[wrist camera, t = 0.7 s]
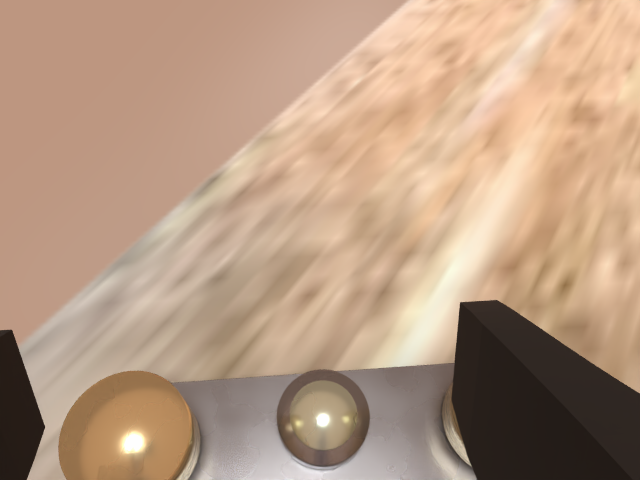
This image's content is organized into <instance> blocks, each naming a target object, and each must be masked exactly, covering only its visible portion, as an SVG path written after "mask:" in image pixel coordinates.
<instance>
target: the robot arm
mask: <svg viewBox="0 0 640 480" xmlns="http://www.w3.org/2000/svg"><path fill="white" fill-rule="evenodd" d="M451 400H452V404H453V408H454V411H455V415H456V419H457V422H458V426H459V430H460V433H461V436H462V440H463V443H464V446H465V450H466V453H467V456H468V459H469V461H470V464H471V466H472V469H473V471H474V473H475V476H476V478H477V480H640V393H638V392H636V391H635V390H633V389H631V388H630V387H628V386H627V385H625V384H623V383H622V382H620V381H619V380H617V379H616V378H614V377H612V376H611V375H609V374H608V373H606V372H605V371H603V370H602V369H600V368H598V367H597V366H595V365H594V364H592V363H591V362H589V361H588V360H586V359H585V358H583V357H582V356H580V355H579V354H577V353H576V352H574V351H573V350H571V349H570V348H568V347H567V346H565V345H564V344H562V343H561V342H560V341H558V340H557V339H555V338H554V337H552V336H551V335H549V334H548V333H546V332H545V331H543V330H542V329H540V328H539V327H538V326H536V325H535V324H533V323H532V322H530V321H529V320H527V319H526V318H524V317H523V316H521V315H520V314H518V313H517V312H515V311H514V310H512V309H511V308H509V307H508V306H506V305H504V304H503V303H501V302H499V301H498V300H491V301H475V302H460V310H459V321H458V332H457V343H456V353H455V364H454V375H453V386H452V397H451ZM44 429H45V425H44V422H43V420H42V417H41V414H40V411H39V408H38V405H37V402H36V399H35V396H34V393H33V390H32V387H31V384H30V381H29V378H28V375H27V372H26V369H25V367H24V364H23V361H22V358H21V355H20V352H19V349H18V346H17V343H16V340H15V337H14V334H13V331H12V330H0V480H27V477H28V475H29V472H30V469H31V467H32V464H33V461H34V459H35V456H36V453H37V450H38V447H39V444H40V441H41V438H42V435H43V432H44Z"/></svg>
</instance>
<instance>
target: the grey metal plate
mask: <svg viewBox="0 0 640 480" xmlns="http://www.w3.org/2000/svg"><path fill="white" fill-rule="evenodd" d="M454 364H455V363H449V364H435V365H420V366H406V367H392V368H378V369H363V370H349V371H332V370H314V371H310V372H307V373H305V374H292V375H278V376H264V377H249V378H235V379H221V380H207V381H192V382H178V383H171V384H172V385H173V386H174V387H175V388H176V389H177V390H178V391H179V393H180V394H181V396H182V397H183V399H184V400H185V401H186V403H187V404H188V406H189V407H190V409H191V410H192V412H193V413H194V415H195V417H196V419H197V422H198V425H199V429H200V437H201V444H200V452H199V457H198V460H197V463H196V466H195V468H194V470H193V472H192V474H191V476H190V477H189V479H188V480H477V478H476V476H475V473H474V471H473V469H472V467H471V466H470V465H468V464H467V463H466V462H465V461H464V460H463V459H462V458H461V457H460V456H459V455H458V454H457V453H456V451H455V450H454V448H453V447H452V445H451V443H450V442H449V440H448V437H447V435H446V432H445V429H444V425H443V419H442V407H443V401H444V397H445V394H446V392H447V390H448V388H449V386H450V385H451V383H452V382H453V375H454Z"/></svg>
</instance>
